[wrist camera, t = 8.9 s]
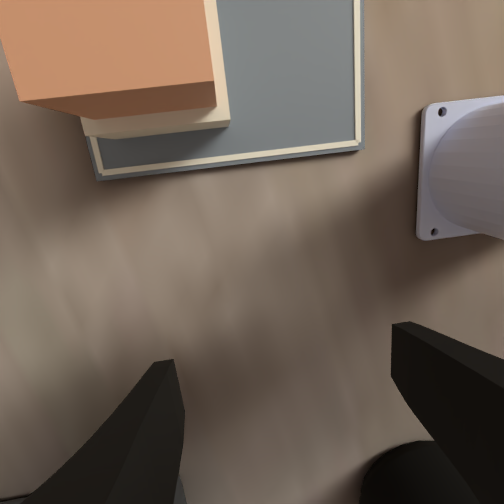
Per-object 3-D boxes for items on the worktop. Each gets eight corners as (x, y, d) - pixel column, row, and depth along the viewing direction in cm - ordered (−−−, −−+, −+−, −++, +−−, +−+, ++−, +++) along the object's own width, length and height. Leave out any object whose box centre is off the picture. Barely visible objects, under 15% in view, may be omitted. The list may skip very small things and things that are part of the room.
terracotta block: (197, -43, 12) (179, -176, 7) (217, 106, 13) (214, 80, 8) (57, -31, 11) (-61, -160, 7) (94, 119, 13) (19, 101, 8)
